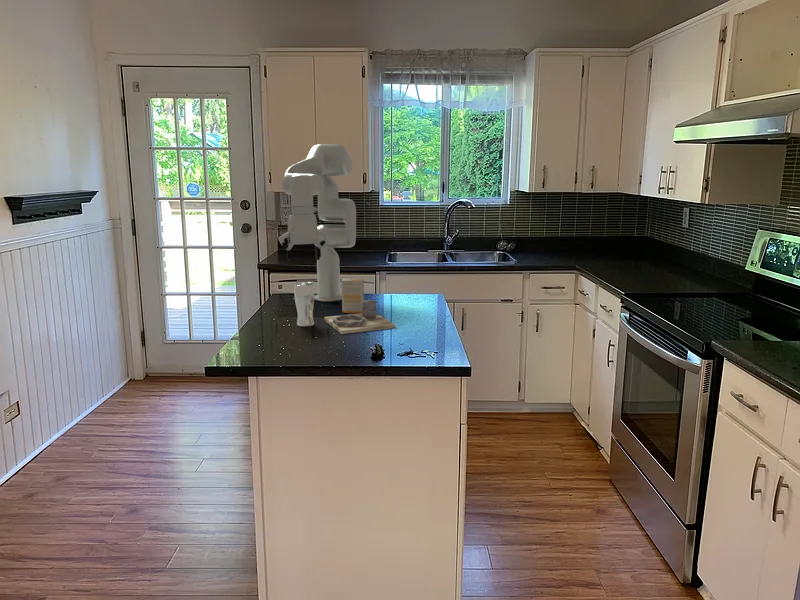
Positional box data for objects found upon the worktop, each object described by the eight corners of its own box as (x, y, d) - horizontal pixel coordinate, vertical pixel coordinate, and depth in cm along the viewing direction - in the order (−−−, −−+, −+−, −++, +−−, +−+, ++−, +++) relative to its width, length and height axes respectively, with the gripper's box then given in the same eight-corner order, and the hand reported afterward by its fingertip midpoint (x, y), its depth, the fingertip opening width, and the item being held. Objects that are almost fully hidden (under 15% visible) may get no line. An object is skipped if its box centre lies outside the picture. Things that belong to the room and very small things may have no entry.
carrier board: (324, 320, 218) (324, 301, 217) (374, 314, 226) (374, 296, 225) (341, 334, 201) (340, 313, 199) (395, 327, 208) (395, 308, 207)
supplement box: (364, 310, 233) (364, 278, 230) (362, 313, 228) (362, 280, 225) (344, 310, 234) (343, 277, 231) (341, 313, 229) (341, 279, 226)
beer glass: (291, 325, 211) (290, 284, 208) (303, 321, 217) (302, 281, 214) (307, 327, 208) (306, 286, 205) (319, 323, 214) (317, 282, 211)
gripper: (323, 209, 210) (324, 257, 214) (275, 211, 203) (277, 260, 207) (329, 211, 204) (330, 260, 207) (279, 212, 197) (282, 263, 201)
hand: (304, 260), depth 207 cm, fingers open, 9 cm apart
